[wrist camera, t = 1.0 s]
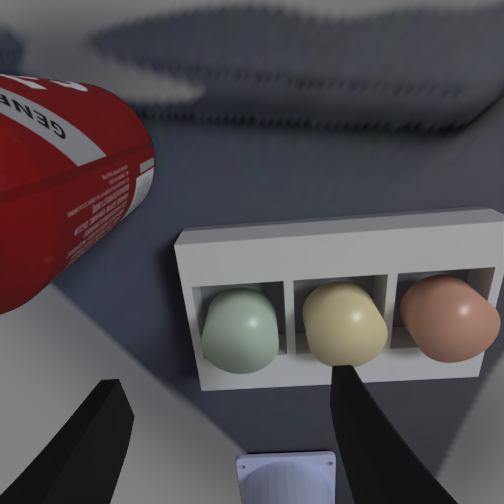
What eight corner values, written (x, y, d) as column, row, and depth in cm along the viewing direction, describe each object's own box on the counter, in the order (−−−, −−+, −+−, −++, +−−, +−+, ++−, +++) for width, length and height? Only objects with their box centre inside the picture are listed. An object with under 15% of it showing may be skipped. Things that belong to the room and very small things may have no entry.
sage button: (278, 342, 20) (280, 372, 18) (212, 346, 21) (207, 375, 18) (274, 285, 19) (276, 309, 17) (203, 289, 19) (195, 314, 17)
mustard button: (370, 337, 20) (384, 366, 18) (303, 341, 20) (308, 370, 18) (374, 278, 18) (390, 302, 16) (301, 283, 19) (307, 307, 16)
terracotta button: (465, 332, 20) (491, 360, 18) (396, 336, 20) (413, 364, 18) (478, 271, 18) (508, 294, 16) (402, 276, 18) (422, 300, 16)
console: (455, 348, 23) (478, 376, 21) (207, 361, 24) (201, 390, 21) (484, 205, 19) (516, 220, 17) (183, 227, 20) (174, 245, 17)
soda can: (185, 168, 18) (79, 266, 7) (98, 236, 20) (-93, 400, 9) (93, 51, 16) (-255, -54, 5) (4, 139, 18) (-398, 200, 7)
